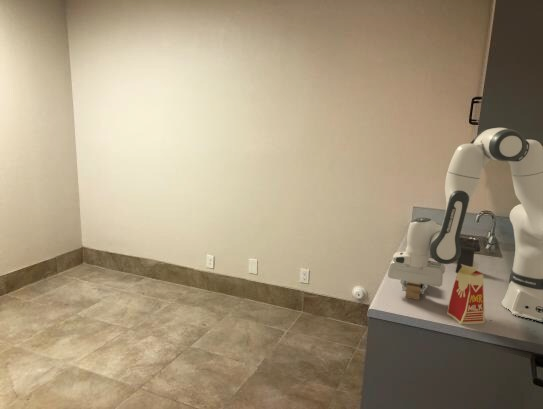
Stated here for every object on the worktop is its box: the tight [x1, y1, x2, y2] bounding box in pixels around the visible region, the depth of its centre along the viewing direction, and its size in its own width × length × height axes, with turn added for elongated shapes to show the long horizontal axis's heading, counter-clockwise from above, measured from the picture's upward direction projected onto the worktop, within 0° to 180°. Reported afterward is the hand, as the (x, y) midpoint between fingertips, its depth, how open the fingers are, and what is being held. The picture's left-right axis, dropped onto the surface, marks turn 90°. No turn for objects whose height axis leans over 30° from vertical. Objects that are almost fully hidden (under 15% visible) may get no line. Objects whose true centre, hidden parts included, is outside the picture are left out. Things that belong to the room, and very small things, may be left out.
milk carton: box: [446, 264, 486, 325], centre depth 138 cm, size 9×9×20 cm
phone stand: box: [455, 244, 476, 274], centre depth 183 cm, size 9×6×12 cm, turn 146°
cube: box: [405, 281, 422, 300], centre depth 155 cm, size 5×5×5 cm
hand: (412, 292), depth 155 cm, fingers closed on cube, 5 cm apart
